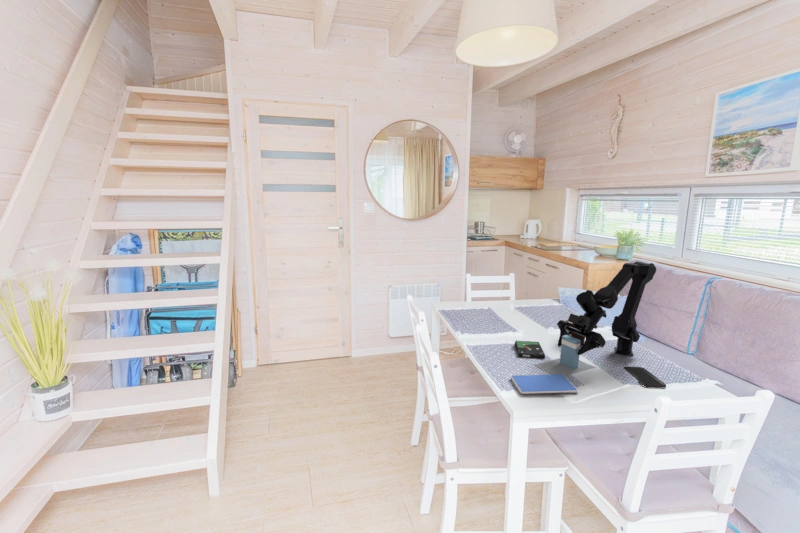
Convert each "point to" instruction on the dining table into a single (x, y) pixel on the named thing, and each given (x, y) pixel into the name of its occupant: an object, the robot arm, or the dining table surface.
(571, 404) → the dining table surface
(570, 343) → the box
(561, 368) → the mat
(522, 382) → the tablet computer
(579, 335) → the coffee mug
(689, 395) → the dining table surface
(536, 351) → the disk drive
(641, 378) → the phone
